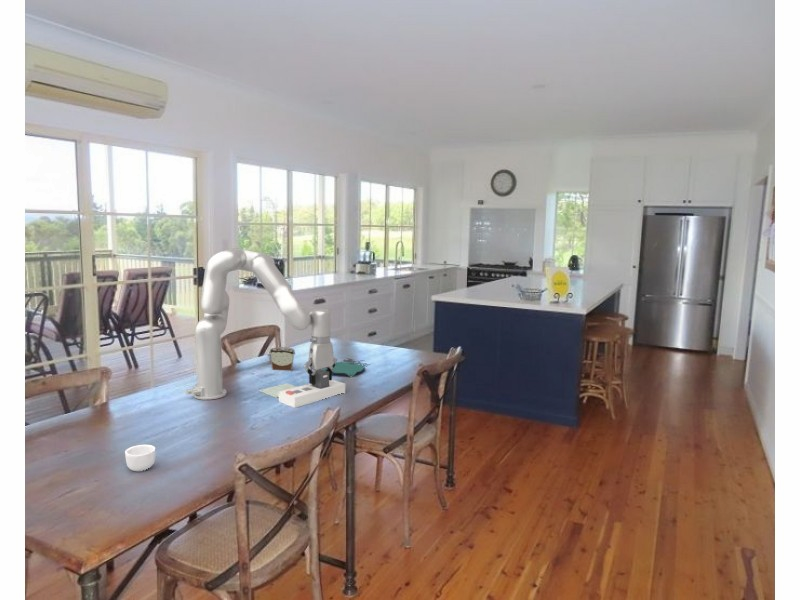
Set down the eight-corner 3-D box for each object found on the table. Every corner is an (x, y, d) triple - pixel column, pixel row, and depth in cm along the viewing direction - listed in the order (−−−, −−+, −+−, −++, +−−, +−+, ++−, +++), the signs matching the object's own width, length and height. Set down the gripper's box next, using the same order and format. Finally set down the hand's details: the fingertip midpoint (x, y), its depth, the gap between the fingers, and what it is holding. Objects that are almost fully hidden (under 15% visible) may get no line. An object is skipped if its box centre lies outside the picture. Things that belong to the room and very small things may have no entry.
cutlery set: (314, 373, 254) (314, 369, 253) (344, 360, 281) (344, 356, 281) (353, 380, 247) (353, 375, 246) (379, 365, 275) (379, 361, 274)
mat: (276, 398, 218) (276, 396, 218) (259, 391, 226) (259, 390, 226) (304, 390, 228) (304, 389, 228) (286, 384, 236) (286, 383, 236)
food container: (298, 367, 263) (298, 347, 261) (294, 371, 257) (294, 350, 255) (273, 366, 264) (273, 346, 262) (269, 369, 258) (269, 349, 256)
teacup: (162, 465, 157) (161, 447, 156) (139, 476, 150) (138, 457, 149) (137, 458, 161) (136, 441, 160) (114, 468, 154) (113, 450, 153)
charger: (320, 393, 219) (321, 373, 218) (312, 390, 223) (312, 370, 222) (329, 390, 223) (329, 371, 221) (320, 387, 226) (320, 369, 225)
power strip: (294, 407, 207) (294, 395, 206) (278, 401, 214) (278, 389, 213) (345, 393, 227) (345, 381, 226) (329, 387, 233) (329, 376, 232)
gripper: (310, 344, 211) (309, 388, 213) (343, 338, 224) (342, 379, 226) (297, 341, 216) (297, 384, 218) (331, 335, 229) (330, 375, 231)
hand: (320, 381), depth 222 cm, fingers open, 8 cm apart
